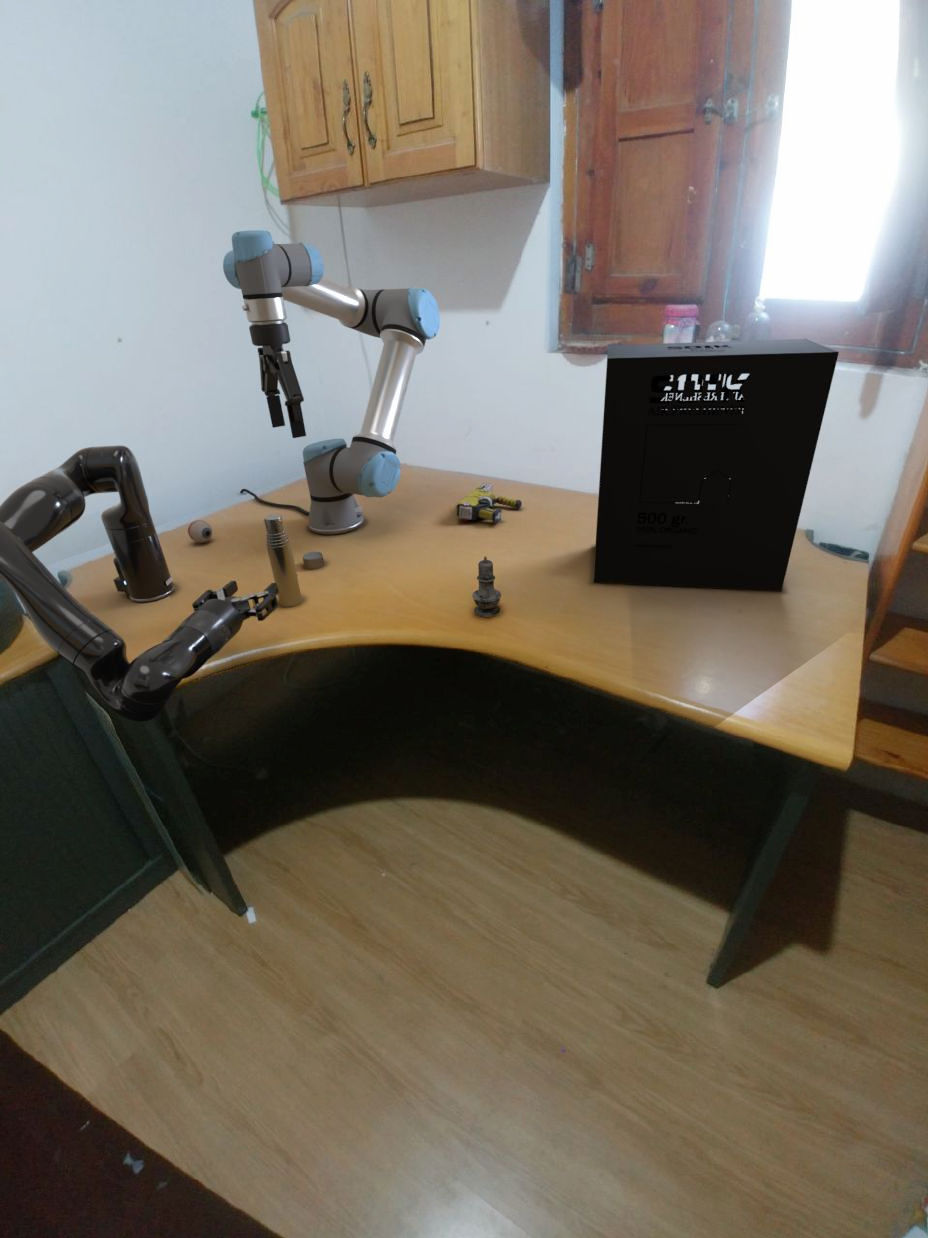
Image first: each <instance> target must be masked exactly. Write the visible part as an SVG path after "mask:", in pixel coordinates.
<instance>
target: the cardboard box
mask: <svg viewBox="0 0 928 1238" xmlns="http://www.w3.org/2000/svg"><path fill="white" fill-rule="evenodd" d="M839 353H840V352H839V351H837V350H835V349H832V348H830V347H828V346H825V345H823V344H819V343H817V342H815V341H812V340H810V339H808V338H795V339H791V338H790V339H789V338H787V339H765V340H764V339H761V340H759V339H758V340H732V341H730V340H729V341H728V340H727V341H698V342H697V341H696V342H669V343H639V344H638V343H636V344H635V343H634V344H632V343H631V344H609V345H607V355H606V356H607V357H606V371H605V384H604V400H603V401H604V403H603V418H602V432H601V433H602V436H601V450H600V453H601V454H600V464H599V465H600V466H599V467H600V468H599V481H598V482H599V483H598V484H599V485H598V498H597V515H596V530H595V545H594V546H595V548H594V565H593V583H594V584H614V585H615V584H616V585H618V584H619V585H637V586H639V585H641V586H658V587H659V586H663V587H681V588H682V587H684V588H703V589H705V588H707V589H727V590H728V589H729V590H747V591H767V592H768V591H769V592H771V591H772V592H782V591H783V587H784V583H785V578H786V575H787V572H788V571H787V570H788V567H789V562H790V558H791V554H792V549H793V545H794V542H795V537H796V532H797V528H798V525H799V520H800V516H801V512H802V509H803V508H802V507H803V503H804V499H805V495H806V490H807V487H808V482H809V478H810V476H811V475H810V474H811V470H812V467H813V462H814V457H815V454H816V449H817V445H818V442H819V436H820V432H821V428H822V424H823V420H824V416H825V411H826V408H827V404H828V399H829V395H830V391H831V387H832V382H833V379H834V374H835V370H836V366H837V362H838V358H839ZM742 374H743V375H747V377H746V378H744V379H739V378H740V377H741V376H742ZM693 375H695V376H696V375H697V382H696V380H695V379H693V380H692V377H693ZM707 375H709V378H708V379H707ZM682 376H685V380H684V382H683V389H679V385H680V379H679V378H680V377H682ZM730 376H731V377H730ZM729 377H730V383H729V385H730V386H735V385H740V386H739V388H729V387H728V379H729ZM706 379H707V380H706ZM696 385H699V389H695V388H696ZM713 385H714V386H715V387H714V389H709V386H713ZM667 387H670V389H666V388H667Z"/></svg>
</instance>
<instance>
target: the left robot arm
mask: <svg viewBox="0 0 928 1238" xmlns="http://www.w3.org/2000/svg"><path fill="white" fill-rule="evenodd" d="M108 493H111V494H112V493H118V495H119V500H120V501H119V503H117V504H114V505H112V506H110V507H108V508H106V509H105V510H103V511H102V513H101V515H100V518H101V522H102V525H103V527H104V529H105V532H106V535H107V538H108V540H109V543H110V546H111V548H112V551H113V554H114V556H115V558H113V560H112V561H113V563H114V567H115V570H116V572H117V575H118V576H117V577H116V578H114V579H113V584H114V586H115V588H116V590H117V592H118V593H125V596H126V598H127V599H130V600H131V601H132V602H136V603H149V602H154V601H158V600H161V599H163V598H165V597H168V596H170V595H171V594H172V593H173V592H174V591H175V590H176V586H175V584H174V582H173V581H174V578H173V576H172V575H171V572H170V569H169V566H168V564H167V560H166V558H165V555H164V551H163V548H162V545H161V542H160V539H159V536H158V533H157V529H156V526H155V523H154V521H153V518H152V514H151V512H150V503H149V499H148V498H149V497H148V496H147V492H146V487H145V484H144V481H143V476H142V473H141V469H140V467H139V462H138V460H137V458H136V456H135V454H134V453H133V451H132V450H131V449H130V448H129V447H128V446H126V445H122V444H121V445H118V444H116V445H100V446H99V445H98V446H87V447H84V448H81V449H79V450H77V451H76V452H75V453H73V454H72V455H71V456H70V457H68V459H65V461H64V462H63V463H61V464H60V465H59V466H58V467H56V468H54V469H52V470H49V471H47V472H46V473H44V474H42V475H40V476H38V477H35V478H34V479H32V480H30V481H28V482H26V483H25V484H22V485H21V486H19V487H18V488H16V489H15V490H14V491H13V492H12V493H10V494H9V495H8V496H7V498H5V499H4V501H3V502H1V504H0V583H1V582H2V581H3V580H4V581H5V582H6V583H7V585H8V586H9V587H10V588H11V590H12V591H13V592H14V594H15V595H16V596H17V598H18V599H19V601H20V603H21V605H22V606H23V608H24V610H25V612H26V613H27V616H28V617H29V619H30V620H31V623H32V624H33V626H34V628H35V629H36V631H37V632H38V634H39V635H40V637H41V638H42V639H43V641H45V643H46V644H47V645H49V647H50V648H51V649H52V650H54V651H55V652H56V653H57V654H58V655H59V656H61V657H62V658H63V659H65V660H66V661H68V662H69V663H70V664H71V665H72V666H74V667H75V668H76V669H77V670H79V671H81V672H82V673H83V674H84V676H85V677H86V678H87V679H88V681H89V683H90V684H91V685H92V687H93V688H94V689H95V691H96V692H97V693H98V695H99V696H100V697H101V698H102V700H103V701H104V702H105V703H106V704H107V705H108V707H109V708H110V709H112V710H113V711H114V712H115V713H116V714H117V715H119V716H121V717H123V718H125V719H126V720H129V721H133V722H141V723H142V722H148V721H151V720H153V719H155V718H157V717H158V716H159V715H160V714H161V713H162V711H163V710H164V708H165V707H166V704H167V702H168V701H169V699H170V698H171V696H172V694H173V693H174V690H175V689H176V688H177V687H178V685H179V684H180V683H181V682H182V681H183V679H188V678H190V677H191V676H193V675H194V674H196V673H197V672H198V671H199V670H200V669H201V668H202V667H203V666H204V665H205V664H206V663H207V662H208V661H209V660H210V659H211V658H213V657H214V656H216V655H217V654H218V653H220V651H221V650H223V648H224V647H226V645H227V644H228V643H230V641H231V640H232V639H233V638H234V637H235V636H236V635H237V634H238V633H239V632H240V630H241V629H242V626H243V623H244V621H246V620H248V619H249V618H251V617H256V618H257V621H258V622H262V621H264V620H266V619H267V618H268V617H269V616H270V615H271V614H272V613H273V612H274V611H275V610H276V609H278V607H279V605H280V604H279V600H278V598H277V597H278V593H279V590H278V586H277V584H276V583H275V582H271V583H269V585H268V586H267V587H266V588H265V589H264V590H263V591H261V592H259V593H254V592H252V593H248V594H245V595H243V596H234V595H235V594H236V593H237V592H238V591H239V586H238V583H237V581H236V580H231V581H229V582H228V583H226V584H225V585H224V586H223V587H220V588H217V589H215V591H213V590H212V589H206V591H204V592H203V593H202V594H201V595H200V596H199V597H198V598H197V599H196V600H194V601H193V602H192V603H191V606H192V608H193V612H192V613H191V614H189V615H188V617H186V618H185V619H184V620H183V621H182V622H181V623H180V624H179V626H178V627H177V628H176V629H175V630H174V631H173V632H171V633H170V634H168V636H167V637H166V638H164V639H163V641H161V642H159V643H158V644H156V645H153V646H152V647H150V648H147V649H146V650H144V651H143V652H141V653H139V654H138V655H137V656H136V657H134V658H133V660H131V662H129V660H128V657H127V643H126V642H125V639H123V638H122V637H121V636H120V635H119V634H118V633H117V632H116V631H115V630H113V629H112V628H111V627H110V626H108V625H107V624H106V623H105V622H103V621H102V620H101V619H99V618H98V617H97V616H96V615H95V614H93V613H92V612H91V611H90V610H88V609H87V608H86V607H85V606H83V604H82V603H80V602H79V601H78V600H77V599H76V598H75V597H74V596H73V595H72V594H71V593H70V592H69V591H68V590H67V589H66V588H65V587H64V586H63V584H62V583H60V581H59V580H58V579H57V578H56V577H55V575H53V573H51V571H50V570H49V569H48V568H47V567H46V565H44V563H43V562H42V561H41V560H40V559H39V558H38V557H37V556H36V554H34V553H33V552H35V551H37V550H38V549H39V548H41V547H42V546H44V545H45V544H47V543H48V542H50V541H51V540H52V539H54V538H55V537H56V536H58V535H60V534H61V533H63V532H64V531H66V530H67V529H69V528H70V527H71V526H72V525H74V524H75V523H77V522H78V521H79V520H80V519H81V517H82V516H83V515H84V512H85V510H86V505H87V504H86V503H87V502H86V498H87V497H88V496H91V495H96V494H108ZM260 599H262V601H260V602H259V600H260ZM249 601H252V602H251V603H252V605H253V606H252V608H251V604H250V602H249Z"/></svg>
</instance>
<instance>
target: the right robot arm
mask: <svg viewBox="0 0 928 1238" xmlns="http://www.w3.org/2000/svg"><path fill="white" fill-rule="evenodd" d="M231 247H232V249H231V250H229V251H228V252H226V254H224V258H223V262H222V270H223V273H224V277H225V279H226V280H227V282H228V283H229V284H230V285H231V287H233V288H235V289H238V290H240V291H241V295H242V299H243V303H244V305H242V306H241V309H242V310H243V311H244V312H245V313H246V319H247V321H248V322H249V323H251V325H250V324H249V326H248V329H249V334H250V335H249V336H250V339H251V343H252V345H253V346H255V347H257V353H258V359H259V360H258V361H259V372H260V387H261V388H260V389H261V392H262V393H264V395H265V397H266V402H267V407H268V413H269V416H270V417H269V418H270V422H271V426H272V428H273V429H274V428H281V427H285V426H286V423H285V417H284V412H283V407H282V401H281V397H280V395H281V391H280V389H279V388H278V387H279V385H280V388H281V390H282V392H283V395H284V398H285V399H286V400H284V407H286V411H287V414H288V421H289V425H290V431H291V436H292V439H297V438H303V437H307V432H306V427H305V420H304V415H303V411H302V402H303V403H304V401H305V398H304V395H303V392H302V388H301V387H300V386H301V385H300V382H299V380H298V377H297V374H296V370H295V367H294V364H293V360H292V355H291V351H290V350H284V347H283V346H284V345H286V344H287V345H288V344H289V343H290V342H291V335H290V331H289V330H290V329H289V324H287V322H285V320H287V318H288V317H287V311H286V306H285V301H286V302H288V303H292V304H294V305H297V306H300V307H303V308H305V309H309V310H311V311H313V312H317V313H319V314H322V315H325V316H328V317H330V318H334V319H336V320H337V321H338V322H339V323H340V324H341V326H344V327H346V328H349V329H352V330H354V331H357V332H359V333H362V334H364V335H368V336H370V337H374V338H378V339H380V340H381V341H382V344H383V345H382V349H381V352H380V356H379V361H378V363H377V368H376V372H375V375H374V379H373V383H372V387H371V390H370V394H369V399H368V402H367V406H366V410H365V413H364V418H363V421H362V423H361V424H362V425H361V429H360V432H359V433H357V434H355V435H353V436H352V439H351V443H350V446H349V447H348V443H347V442H346V440H345V439H344V438H331V439H326V440H320V441H317V442H313V443H309V444H308V445H306V446H305V447H304V448H303V450H302V457H303V458H302V460H303V462H302V463H303V467H304V473H305V477H306V482H307V487H308V492H309V498H310V507H309V511H308V510H306V509H304V508H302V507H300V506H298V505H294V504H284V503H277V502H272V501H268V500H264V499H262V498H259V497H258V495H257V494H256V493H254V492H253V491H251V490H249V489H247V488H241V490H240V492H239V494H244V493H247V494H249V495H250V496H253V498H254V499H255V500H256V501H257V502H259V503H261V504H264V505H268V506H272V507H277V508H287V509H294V510H298V511H300V512H301V513H302V514H304V515H306V516H308V528H309V529H308V530H310V531H311V532H312V533H314V534H317V535H323V536H324V535H325V536H327V535H329V536H331V535H339V534H340V535H341V534H345V533H350V532H353V531H355V530H357V529H359V528H361V527H362V526H363V525H364V523H365V519H364V514H363V505H362V504H361V505H359V504H358V501H357V500H356V498H355V495H357V496H364V497H366V498H383V497H386V496H388V495H389V494H391V493H392V492H393V491H394V490H395V488H396V487H397V485H398V482H400V478H401V472H402V469H401V467H400V466H401V462H400V459H399V457H398V456H397V448H396V446H395V444H394V439H395V436H396V432H397V429H398V426H399V425H398V423H399V421H400V418H401V417H400V416H401V413H402V409H403V406H404V402H405V397H406V394H407V391H408V388H409V383H410V378H411V375H412V371H413V368H414V364H415V361H416V356H417V355H419V354H421V353H423V352H424V349H425V346H426V343H427V340H432V339H434V338H436V336H437V335H438V334H439V330H440V326H441V325H440V323H441V317H440V310H439V306H438V302H437V300H436V298H435V296H434V295H433V293H431V291H429V290H428V289H426V288H423V287H414V286H412V287H409V288H387V289H385V288H384V289H383V288H381V289H380V288H379V289H362V288H359V287H356V286H352V285H350V286H346V287H345V286H342V285H340V284H338V283H336V282H333V281H331V280H328V279H326V278H324V273H325V266H324V265H325V264H324V259H323V256H322V253H321V252H320V251H319V250H318V249H317V247H315V246H314V245H312V244H309V243H303V242H299V243H298V242H297V243H275V242H274V239H273V236H272V233H271V232H270V231H269V230H262V229H260V230H258V229H255V230H239V231H235V232H233V234H232V235H231Z"/></svg>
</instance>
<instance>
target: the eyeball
mask: <svg viewBox="0 0 928 1238" xmlns="http://www.w3.org/2000/svg"><path fill="white" fill-rule="evenodd" d="M187 534H188V537H189V538H190V539H191V540H192V541H193V542H196V543H198V544H199V543H201V544H202V543H207V542H208V541H209V540H211V538H212V536H213V527H212V526H211V524H210V523H209V522H207V521H205V520H201V519H197V520H193V521H192V522H191V523H190V524H189V525H188V527H187Z"/></svg>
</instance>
